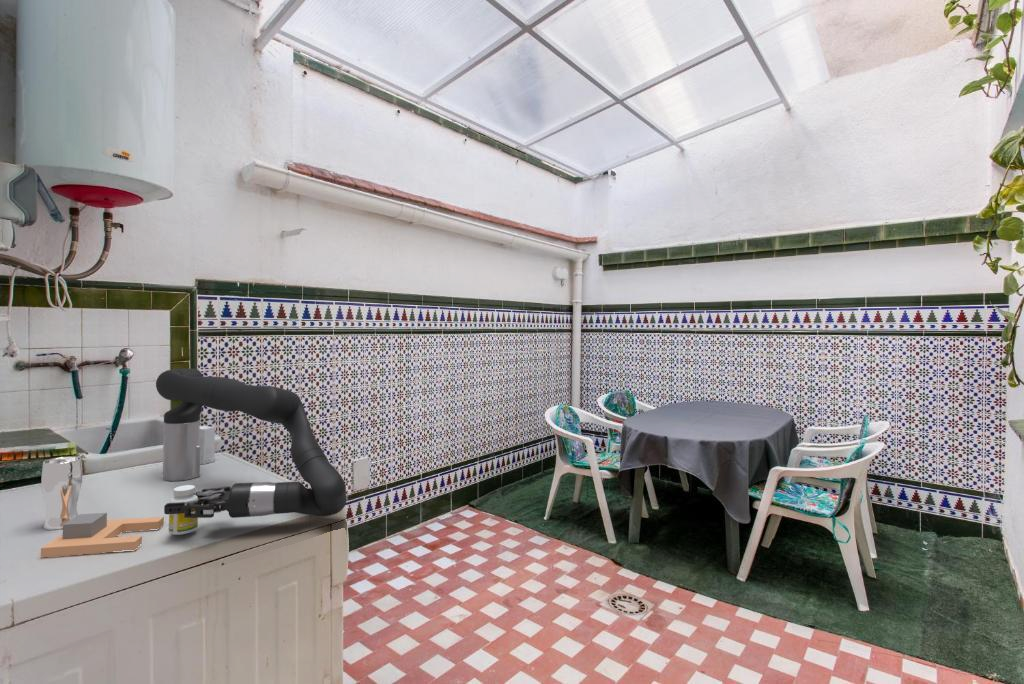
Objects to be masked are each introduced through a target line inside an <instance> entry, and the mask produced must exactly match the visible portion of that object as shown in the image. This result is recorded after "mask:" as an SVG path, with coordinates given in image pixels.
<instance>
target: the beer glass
mask: <svg viewBox="0 0 1024 684" xmlns="http://www.w3.org/2000/svg"><path fill="white" fill-rule="evenodd" d="M40 481H41V492H42V495H43V496H42V497H43V501H44V505H45V519H44V523H43V527H42V528H43V529H44V530H46V531H56V530H63V524H65V523H66V522H68V521H70V520H71V519H73V518H75V517H76V516H78V515H79V514H78V501H79V497H80V493H81V490H82V489H81V488H82V483H83V465H82V457H81V456H61V457H55V458H50V459H46V460H44V461H43V462H42V469H41V480H40Z"/></svg>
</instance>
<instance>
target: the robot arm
mask: <svg viewBox="0 0 1024 684" xmlns="http://www.w3.org/2000/svg"><path fill="white" fill-rule="evenodd" d="M155 387H156V391H157V392H158V395H160V396H161V397H162V398H163V399H165V400H167V401H180V403H179V404H178V405H177V406H175V407H173V408H172V409H170V410H168V411H166V412H165V413H164V414H163V438H162V441H163V443H162V448H163V449H162V480H163V481H167V482H180V481H186V480H192V479H195V478H199V477H201V464H200V452H201V446H200V445H199V435H200V426H201V421H200V420H201V413H202V410H203V407H206V408H207V407H208V408H211V409H215V410H217V411H222V412H230V413H232V412H241V413H243V414H246V415H249V416H251V417H254V418H256V419H258V420H261V421H263V422H268V423H274V424H278V425H282V426H283V427H284V428H285V429H286V430H287V432H288V434H289V435H290V438H291V445H290V455H291V456H290V457H291V460H292V461H293V464H294V466H295V468H296V469H297V472H298V473H299V474H300V476H301V478H302V479H303V480H304V481H305V482H306V483H308V485H309V486H310V487H311V488H309V487H306V486H305V485H304V484H303V483H302V482H300V481H283V482H282V481H281V482H273V481H256V482H241V483H240V482H239V483H236V482H235V483H234V484H233V485H232V486H223V487H222V486H221V487H212V488H204V489H201V491H195V493H194V495H196V496H197V497H198V499H197V500H196V501H190V502H180V503H170V502H167V503H166V504H165V505H164V506H163V510H164V511H163V513H164V514H165V515H169V514H181V513H184V517H185V518H198V519H199V518H200V519H201V518H202V519H209V518H211V519H212V518H213V517H214V516H215V514H218V513H221V512H225V511H227V512H228V515H229V517H230V518H233V519H237V518H251V517H253V518H254V517H263V516H269V515H279V514H280V515H281V514H291V513H297V514H302V515H307V516H315V517H317V516H318V517H329V516H333V515H336V514H338V513H341V511H342V510H343V509H344V508H345V506H346V504H347V487H346V482H345V481H344V479H343V476H342V475H341V473H340V472H339V471H338V469H336V468H335V467H334V466H333V465H332V464H331V463H330V460H329V459H328V457H327V456H326V454H325V452H324V451H323V449H322V447H321V446H320V444H319V443H318V440H317V438H316V437H315V434H314V432H313V430H312V426H311V424H310V421H309V418H308V415H307V414H306V410H305V407H304V405H303V401H302V400H301V398H300V397H299V395H298V394H297V393H295V392H294V391H292V390H289V389H285V388H281V387H277V386H272V385H252V384H251V385H250V384H246V383H244V382H243V381H240V380H238V379H235V378H228V377H224V376H203V373H202V372H201V371H200V370H199V369H197V368H176V369H173V368H172V369H168V370H165V371H163V372H162V373H160V375H158V377H157V379H156V382H155ZM195 504H197V505H195ZM191 509H195V510H191ZM194 513H195V514H194Z"/></svg>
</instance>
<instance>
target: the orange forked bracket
mask: <svg viewBox="0 0 1024 684" xmlns="http://www.w3.org/2000/svg"><path fill="white" fill-rule="evenodd" d="M163 524H164V525H165V516H157V517H156V516H153V517H139V518H119V519H108V513H107V512H100V513H99V512H97V513H94V512H93V513H79V514H78V516H76V517H75V518H73V519H71V520H70V521H68V522H66V523H65V524H63V529H62V534H61V535H59V536H57V537H56V538H55V539H52V540H51V541H50V542H48V543H46V544H45V545H44V546H42V547H41V548H40V559H44V558H43V557H50V558H60V557H59V556H64V557H69V556H68V555H78V556H84V555H83V554H91V555H95V554H94V553H103V552H113V551H122V550H135V549H136V548H138V546H140V544H142V545H143V536H142V535H133V536H120V535H121V534H122V533H121V532H125V533H127V532H126V531H140V530H150V529H158V528H160V527H161V526H162V525H163ZM162 527H163V526H162ZM162 527H161V528H162ZM161 528H160V529H161ZM120 533H121V534H120ZM119 534H120V535H119ZM117 535H119V536H120V537H119V536H117ZM116 536H117V537H116ZM115 537H116V538H115ZM140 547H141V546H140ZM138 549H139V548H138ZM57 556H58V557H57Z"/></svg>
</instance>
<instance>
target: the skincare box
mask: <svg viewBox="0 0 1024 684" xmlns="http://www.w3.org/2000/svg"><path fill="white" fill-rule="evenodd" d="M215 436H216V427H215V426H209V425H200V435H199V445H200V446H201V452H200V465H206V464H211V463H214V462H215V448H216V447H215V446H216V437H215Z"/></svg>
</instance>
